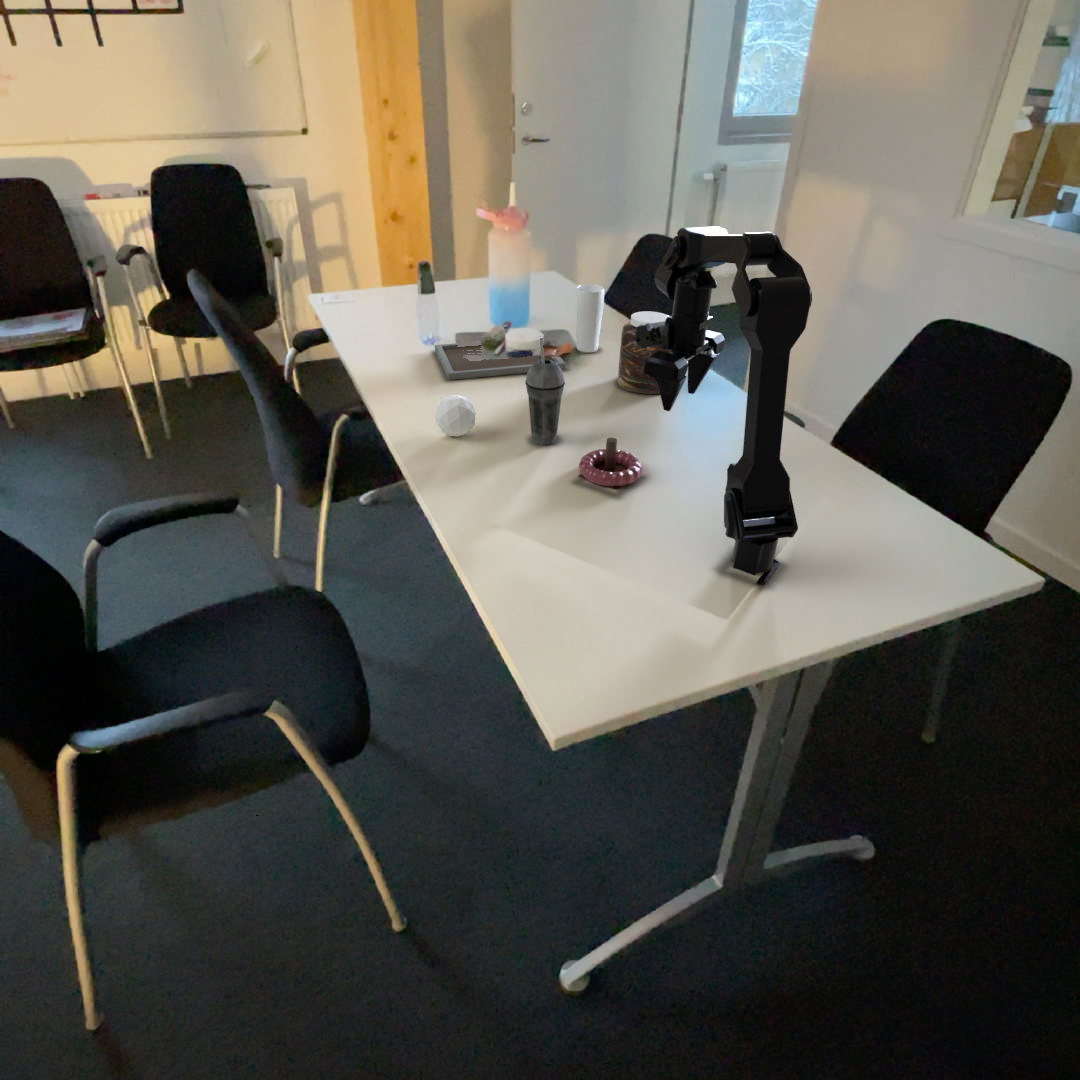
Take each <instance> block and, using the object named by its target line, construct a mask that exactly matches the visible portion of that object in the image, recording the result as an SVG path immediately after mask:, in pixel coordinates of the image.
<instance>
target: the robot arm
mask: <svg viewBox="0 0 1080 1080" xmlns="http://www.w3.org/2000/svg"><path fill="white" fill-rule="evenodd" d="M725 264H735V267H736V270H737V271H736V273H735V276H734V278H733V281H732V285H731V292H732V295H733V298H734V301H735V303H736V307H737V309H738V312H739V329H740V330H741V332H742V334H743V336H744V338H745V340H746V342H747V344H748V346H749V347H750V358H749V368H748V369H749V371H748V380H747V381H748V383H747V395H746V406H745V407H746V408H745V409H746V410H745V421H744V432H743V447H742V455H741V457H740V458H739V459H738V461H737V462H734V463H730V464H729V465H728V467H727V470H726V472H727V473H726V485H725V489H724V490H725V492H724V495H723V527H724V528H725V536H726V537H727V538H730V539H732V540H734V545H733V551H732V556H731V561H732V563H733V566H732V568H733V569H736V570H738V571H741V572H743V573H746V574H749V575H752V576H756V575H757V574H761V575H760V576H759V578H758V579H757V580H756V581H755V584H758V585H761V586H763V585H766V584H767V583H768V581H769V580H770V579H771V577H772V576H773V575H774V574H775V572H776V571H777V569H778V568H779V567H780V564H781V561H780V560H778V559H775V556H776V551H777V546H778V542H779V539H785V538H794V537H795V535H796V533H797V532H798V530H799V525H798V521H797V516H796V511H795V507H794V503H793V497H792V492H791V478H790V474H789V473H788V471H787V469H786V468H785V466H784V464H783V462H782V460H781V450H782V438H783V429H784V428H783V427H784V419H785V409H786V398H787V389H788V379H789V367H790V357H791V351H792V348H793V347H794V346H795V344H796V343H797V342H798V340H799V339H800V337H801V336H802V334H803V333H804V332H805V330H806V328H807V323H808V319H809V314H810V310H811V309H810V308H811V306H812V302H813V292H812V289H811V286H810V283H809V281H808V278H807V275H806V273H805V271H804V268H803V266H802V265H801V263H799V262H798V261H797V260H796V259H795V258H794V257H792V255H790V253H788V252H787V251H786V250H785V249H784V248H783V245H782V243H781V240H780V238H779V236H778V235H777V234H775V233H773V232H771V231H764V232H763V231H761V232H744V233H741V234H729V232H728V230H727V229H726V228H722V227H721V226H700V227H699V226H697V227H681V228H679V229H678V230H677V232H676V235H675V236H674V237H673V239H672V240H671V243H670V245H669V247H668V249H667V251H666V252H665V254H664V255H663V257H662V262H661V263H660V264H659V266H658V268H656V271H655V273H654V284H655V286H656V288H657V289H658V290H659V291H660V292H661V293H663V294H664V295H665V296H666V297H668V298H669V300H671V301H673V304H672V314H671V315H668V316H669V317H667V318H666V320H665V321H663V322H657V323H652V324H650V323H647V324H645V325H643V324H641V325H639V326H637V329H636V332H635V337H634V341H635V342H636V343H637V344H638V345H639V346H640V348H641V349H645V348H647V347H650V346H656V345H661V349H665V350H668V349H669V350H671V352H672V353H673V354H670V353H666V352H662V351H658V352H656V353H655V354H653V355H651V356H650V357H648V358H647V359H646V360H644V363H643V373H644V374H647V375H648V376H649V377H651V378H653V379H654V380H655V381H656V382H657V384H658V387H659V391H660V393H659V395H660V400H661V403H662V408H663V410H664V411H666V412H671V410H672V408H673V407H674V405H675V403H676V401H677V398H678V396H679V394H680V392H681V390H682V388H683V387H684V384H685V382H686V380H687V393H688V394H691V395H694V394H695V393H696V392H697V390H698V389H699V387H700V385H701V384H702V382H703V381H704V379H705V377H706V375H707V374H708V372H709V371H710V369H711V368H712V366H713V365H714V363H715V362H716V360H717V359H718V358H719V357H720V353H721V352H723V351H724V349H725V342H726V339H725V337H724V335H723V334H722V332H717V331H712V330H708V326H709V325H711V324H713V316H710V315H709V314H710V307H711V300H712V293H713V290H716V289H717V288H718V284H717V280H716V279H715V278H714V276H713V273H712V271H711V270H704V271H703V270H699V269H712V268H717V267H719V266H723V265H725ZM748 266H749V267H750V266H753V267H754V266H766V267H767V269H768V270H769V272H771V273H772V274H773V275H774V276H769V277H768V276H765V277H753V278H749V276H748V273H747V269H746V268H747V267H748ZM686 374H687V375H686Z"/></svg>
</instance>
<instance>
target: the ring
mask: <svg viewBox="0 0 1080 1080" xmlns="http://www.w3.org/2000/svg"><path fill="white" fill-rule="evenodd" d="M605 454H606V448H599V449H596V450H592V451H589V452H587V453H586V454H585V455H583V456H582V457H581V459H580V461H579V463H578V469H579V472H580V474H582V476H583V477H585V478H586V479H587V480H586V479H585V480H586V481H589V482H590V483H593V484H596V485H598V486H604V487H606V486H622V487H624V486H627V485H630V484H633V483H634V482H635V481H637V480H638V479H639V478H640V477H641V476H642V473H643V464H642V462H641V460H640V459H639V458H638V457H637V456H635V455H634V454H632V453H630V452H628V451H625V450H622V449H617V450H616V463H615V464H619V465H622V466H625V467H627V468H628V469H626V470H624V471H620V472H607V471H602V470H599V469H596V468H595V467H594V465H596V464H600V463H605ZM623 485H624V486H623Z"/></svg>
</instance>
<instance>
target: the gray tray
mask: <svg viewBox="0 0 1080 1080" xmlns="http://www.w3.org/2000/svg"><path fill="white" fill-rule="evenodd" d="M471 342H472V343H480V341H471ZM458 343H459V342H456V343H444V344H435V345H434V351H435V354H436V356H437V358H438V360H439V363H440V365H441V367H442V369H443V371H444V374H445V375H446V378H447V380H449V381H453V380H463V379H473V378H475V379H476V378H484V377H485V378H486V377H498V376H507V375H517V374H527V373H528V371H529V369H530V367H531V366H532V365H533V364H534V363H536V362H538V361H540V360H541V356H527V357H522V358H521V357H520V358H509V359H494V360H493V359H489V360H486V359H484V360H481V361H469V360H468V359H466V358H463V357H465V356H463V355H481V354H477V353H482V352H481V351H476V350H482V349H480V348H482V347H481V346H482V345H478V346H465V347H457V346H458ZM463 350H464V351H463ZM467 350H473V351H467ZM467 353H475V354H467ZM562 356H563V355H560V357H555V358H554V359H553V358H552V357H551V356H544V360H551V361H553V362H555V363H556V364H557V365H558V366H559V367H560V368H561V370H562V371H564V370H565V369H566V363H565V361H564V360H563V358H561V357H562ZM466 357H467V356H466Z"/></svg>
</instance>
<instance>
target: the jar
mask: <svg viewBox="0 0 1080 1080" xmlns="http://www.w3.org/2000/svg"><path fill="white" fill-rule="evenodd" d="M669 316H670V315H668V314H665V313H662V312H659V311H648V310H647V311H646V310H644V311H637V312H634V313H632V314H631V315H630V321H627V322H625V323H624V324H623V326H622V328H621V336H620V346H619V358H618V359H619V360H618V371H617V372H618V373H617V374H618V375H617V384H618V386H619V387H621V388H622V389H624V390H626V391H628V392H631V393H635V394H641V395H642V394H643V395H657V394H660V391H659V387H658V384H657V382H656V381H655V380H654V379H653V378H651V377H649V376H648V375H647V374H644V373H643V363H644V360H646V359H647V358H648V357H650V356H651V355H653V354H655V353H656V352H658V351H662V352H666V353H670V354H673V353H672V352H671V350H669V349H668V350H665V349H661V345H656V346H650V347H647V348H645V349H641V348H640V346H639V345H638V344H637V343H636V342H635V341H634V337H635V332H636V329H637V326H639V325H641V324H643V325H645V324H647V323H650V324H652V323H657V322H663V321H665V320H666V318H667V317H669Z"/></svg>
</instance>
